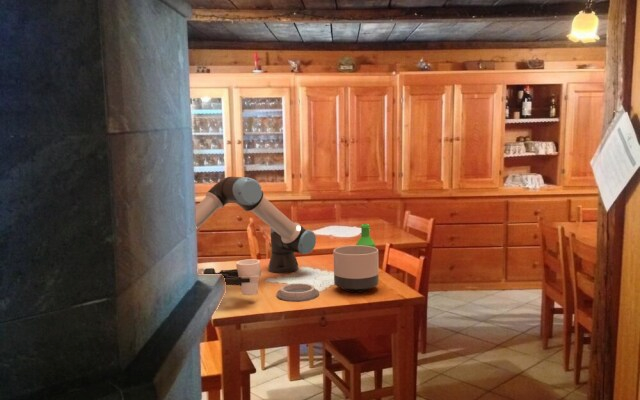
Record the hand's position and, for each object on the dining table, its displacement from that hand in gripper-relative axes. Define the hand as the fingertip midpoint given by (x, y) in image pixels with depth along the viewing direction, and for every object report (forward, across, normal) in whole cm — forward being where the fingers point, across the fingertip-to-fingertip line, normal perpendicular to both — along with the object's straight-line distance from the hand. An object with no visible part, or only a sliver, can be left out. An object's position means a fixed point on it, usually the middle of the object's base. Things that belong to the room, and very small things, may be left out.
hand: (259, 275), depth 218 cm
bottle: (+46, -36, -12) cm, 60 cm away
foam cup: (-4, 0, -7) cm, 9 cm away
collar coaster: (+15, -8, -11) cm, 20 cm away
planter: (+40, -14, -12) cm, 44 cm away
